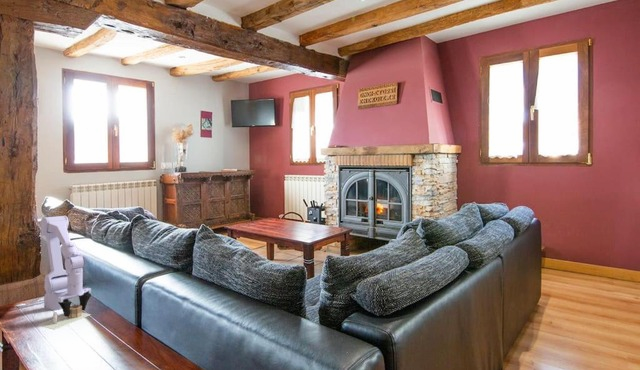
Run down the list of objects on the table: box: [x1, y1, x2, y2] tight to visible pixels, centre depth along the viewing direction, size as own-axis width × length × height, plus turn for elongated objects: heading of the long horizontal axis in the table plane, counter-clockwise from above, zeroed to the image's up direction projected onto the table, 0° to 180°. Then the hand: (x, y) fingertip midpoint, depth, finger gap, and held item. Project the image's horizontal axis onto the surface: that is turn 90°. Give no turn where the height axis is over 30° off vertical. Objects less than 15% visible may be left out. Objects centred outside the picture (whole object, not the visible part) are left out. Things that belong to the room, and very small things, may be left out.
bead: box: [68, 304, 83, 318], centre depth 172 cm, size 5×5×4 cm
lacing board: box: [37, 311, 92, 331], centre depth 167 cm, size 10×17×6 cm, turn 161°
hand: (74, 312), depth 172 cm, fingers open, 7 cm apart
